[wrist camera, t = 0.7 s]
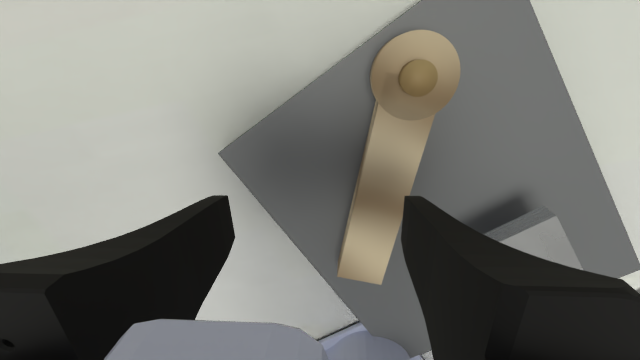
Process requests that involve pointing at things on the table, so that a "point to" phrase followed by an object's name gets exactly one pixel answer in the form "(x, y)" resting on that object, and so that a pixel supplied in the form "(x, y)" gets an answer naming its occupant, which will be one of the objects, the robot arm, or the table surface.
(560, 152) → the board
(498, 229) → the block
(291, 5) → the table surface
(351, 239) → the link
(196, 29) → the table surface
